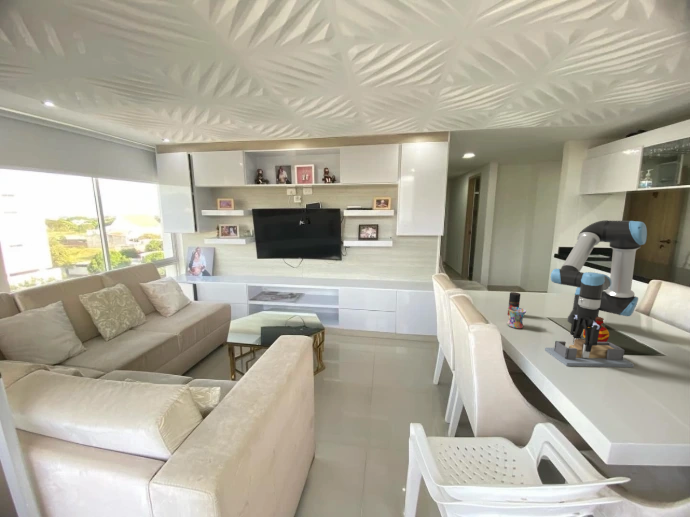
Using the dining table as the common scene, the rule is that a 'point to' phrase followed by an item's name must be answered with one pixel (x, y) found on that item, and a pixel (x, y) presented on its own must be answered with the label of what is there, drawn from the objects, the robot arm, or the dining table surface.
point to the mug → (516, 317)
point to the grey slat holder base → (569, 358)
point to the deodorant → (514, 300)
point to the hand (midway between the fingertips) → (580, 354)
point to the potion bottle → (602, 333)
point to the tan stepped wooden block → (596, 351)
